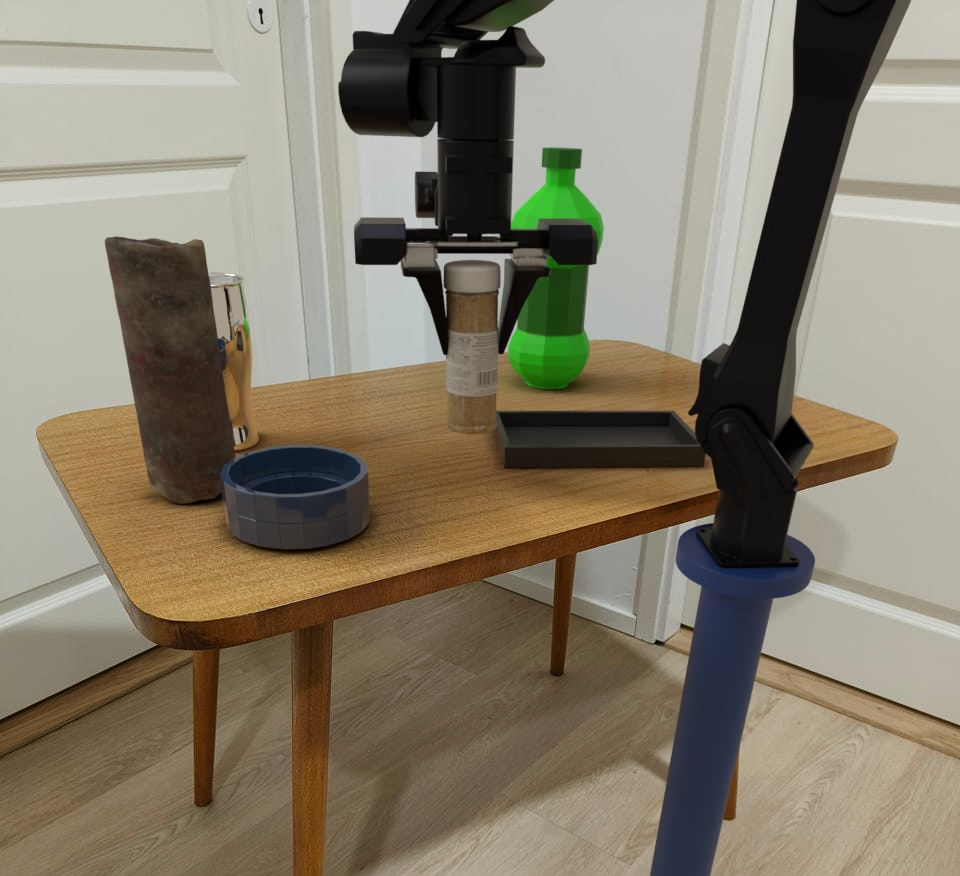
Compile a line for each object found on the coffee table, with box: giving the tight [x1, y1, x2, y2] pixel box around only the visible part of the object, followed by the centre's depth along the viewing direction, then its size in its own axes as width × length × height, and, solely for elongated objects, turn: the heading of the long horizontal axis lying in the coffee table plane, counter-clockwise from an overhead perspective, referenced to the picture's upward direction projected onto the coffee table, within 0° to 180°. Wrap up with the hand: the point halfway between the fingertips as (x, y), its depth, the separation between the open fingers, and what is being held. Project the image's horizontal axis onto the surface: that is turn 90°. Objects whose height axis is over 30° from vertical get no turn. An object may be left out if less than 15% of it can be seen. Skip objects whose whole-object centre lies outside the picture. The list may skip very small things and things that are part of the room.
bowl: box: [220, 444, 371, 550], centre depth 70 cm, size 11×11×4 cm
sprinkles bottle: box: [443, 259, 502, 435], centre depth 74 cm, size 5×5×14 cm
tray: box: [491, 410, 707, 469], centre depth 88 cm, size 11×19×2 cm, turn 95°
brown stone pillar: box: [104, 235, 236, 505], centre depth 72 cm, size 8×7×20 cm
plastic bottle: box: [507, 146, 605, 390], centre depth 102 cm, size 10×10×25 cm
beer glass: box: [208, 271, 260, 452], centre depth 83 cm, size 7×7×15 cm
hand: (473, 353), depth 75 cm, fingers closed on sprinkles bottle, 4 cm apart
